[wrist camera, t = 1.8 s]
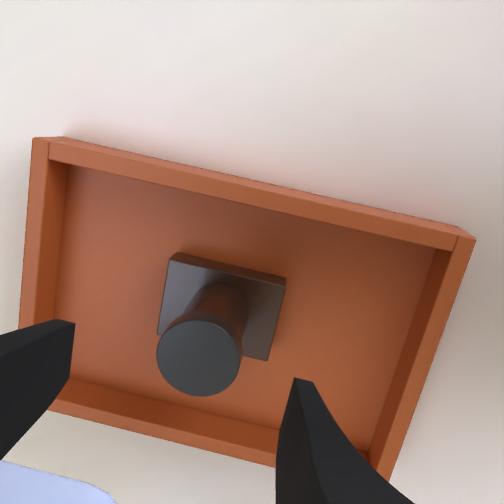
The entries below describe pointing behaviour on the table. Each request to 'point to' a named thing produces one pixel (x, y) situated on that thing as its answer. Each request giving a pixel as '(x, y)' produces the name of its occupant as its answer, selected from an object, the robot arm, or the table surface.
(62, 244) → the tray
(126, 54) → the table surface
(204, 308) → the stamp
